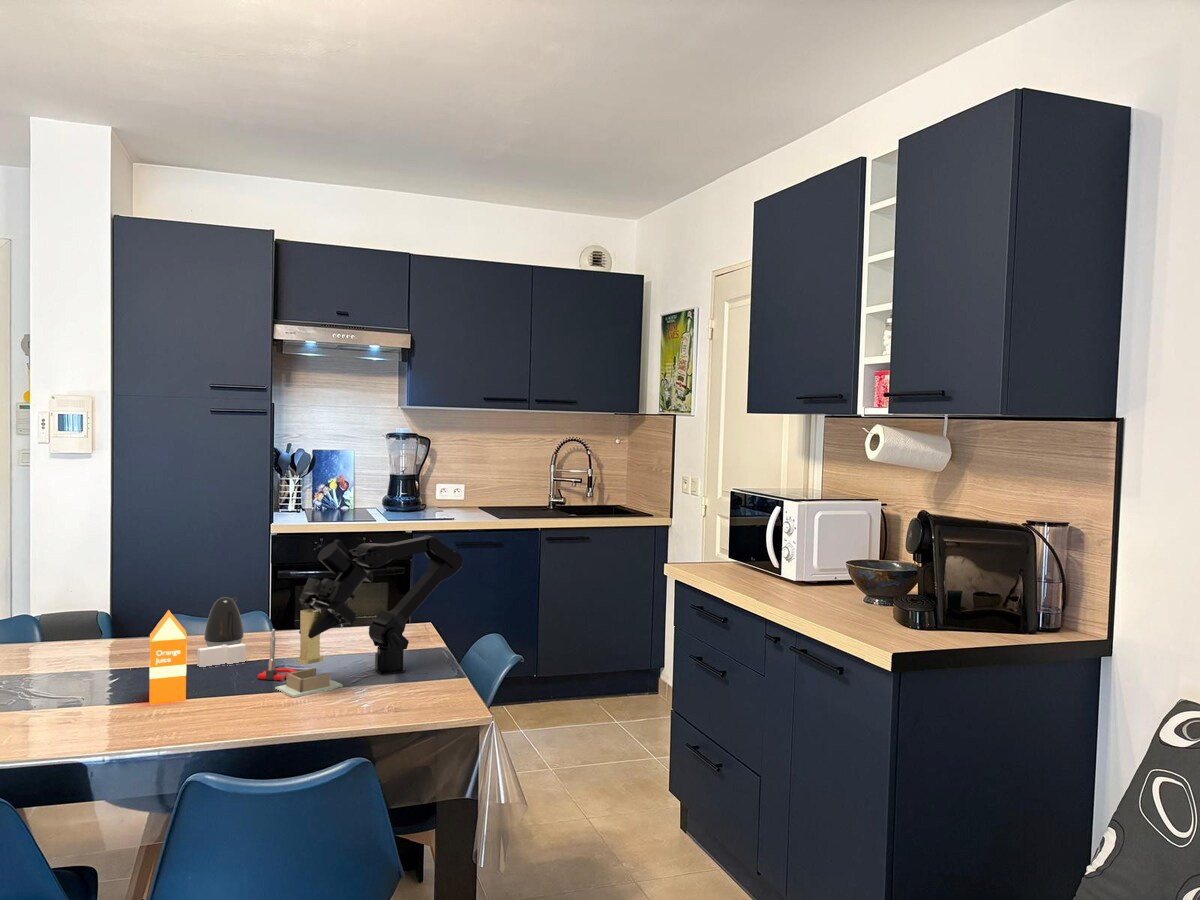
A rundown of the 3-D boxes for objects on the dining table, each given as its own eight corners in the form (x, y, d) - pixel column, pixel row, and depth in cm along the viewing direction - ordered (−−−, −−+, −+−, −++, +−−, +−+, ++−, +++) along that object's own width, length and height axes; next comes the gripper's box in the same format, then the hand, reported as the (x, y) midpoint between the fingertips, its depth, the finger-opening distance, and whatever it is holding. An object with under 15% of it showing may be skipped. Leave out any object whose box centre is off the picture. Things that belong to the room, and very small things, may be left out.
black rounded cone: (251, 647, 249) (252, 595, 249) (227, 656, 239) (228, 601, 238) (220, 644, 251) (221, 592, 251) (196, 653, 241) (196, 599, 241)
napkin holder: (186, 672, 224) (186, 650, 224) (203, 660, 235) (204, 640, 235) (244, 673, 225) (245, 651, 225) (259, 661, 236) (260, 640, 236)
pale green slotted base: (323, 679, 220) (324, 665, 220) (342, 686, 214) (342, 672, 214) (275, 689, 210) (275, 674, 210) (293, 697, 204) (293, 682, 204)
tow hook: (273, 671, 227) (253, 679, 218) (275, 622, 227) (256, 628, 218) (302, 673, 226) (284, 682, 217) (305, 624, 226) (287, 630, 217)
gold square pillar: (315, 657, 215) (315, 608, 215) (323, 660, 212) (323, 610, 212) (296, 661, 211) (296, 611, 211) (304, 664, 209) (304, 613, 208)
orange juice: (148, 705, 197) (149, 618, 196) (148, 694, 204) (149, 610, 204) (186, 700, 200) (187, 615, 200) (185, 690, 208) (186, 607, 208)
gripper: (306, 560, 220) (264, 609, 213) (345, 570, 208) (302, 622, 200) (334, 587, 226) (294, 636, 219) (373, 598, 214) (332, 650, 206)
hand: (304, 635), depth 211 cm, fingers closed on gold square pillar, 4 cm apart
